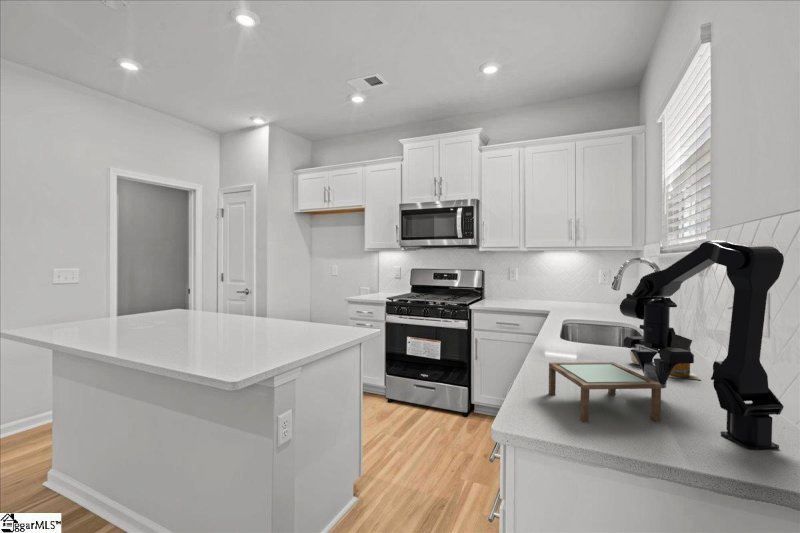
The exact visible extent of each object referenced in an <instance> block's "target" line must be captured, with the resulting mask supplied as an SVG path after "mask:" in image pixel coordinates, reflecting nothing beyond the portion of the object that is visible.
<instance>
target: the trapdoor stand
mask: <svg viewBox="0 0 800 533" xmlns="http://www.w3.org/2000/svg"><path fill="white" fill-rule="evenodd" d="M586 364H611V365H613V366H615V367H617V368H619V369H622V370H624V371H626V372H628V373H630V374H632V375H634V376H636V377H638V378H641V379H643V380H645V381H647V382H639V383H585V382H584V381H582V380H581V379H579V378H577V377H576V376H574V375H573V374H571V373H569V372H568V371H566V370H565V369H563V368H561V367H560V365H586ZM556 372H557V373H558V374H560V375H561V376H563V377H564V378H566V379H567V380H569V382H572V383H573V384H575V385H576V386H577V387H579V388H580V408H579V410H580V412H579V413H580V419H579V420H580V421H581V422H582V423H590V390H607V393H608V394H610V395H611V396H612V395H616V392H617V390H639V389H640V390H641V389H643V390H644V389H646V390H647V389H648V390H649V389H650V390H651V391H650V392H651V396H650V398H651V399H650V402H651V403H650V419H651V420H652V421H654V422H661V414H662V413H661V412H662V411H661V404H662V402H661V401H662V388H661V384H660V383H658V382H655V381H653V380H651V379H649V378H647V377H645V376H644V375H642V374H640V373H639V372H636V371H634V370H631V369H629V368H626V367H624V366H622V365H621V364H618V363H617V362H614V361H605V362H604V361H603V362H602V361H598V362H595V361H594V362H593V361H591V362H589V361H588V362H585V361H584V362H583V361H582V362H577V361H575V362H548V395H550V396H556V389H557V388H556V383H557V382H556V381H557V379H556V376H557V373H556Z"/></svg>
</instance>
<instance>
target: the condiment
mask: <svg viewBox="0 0 800 533" xmlns="http://www.w3.org/2000/svg"><path fill="white" fill-rule="evenodd" d="M691 349H692V348H691V347H690V348H689V351H691ZM691 352H692V351H691ZM668 378H675V379H676V378H677V379H689V380H700V381H702V379H701V378H700V377H699V376H697V374H696V373H692V372H691V363H678V364H677V365H675V366H674V367H673V369H672V371H671V373H670V375H669V377H668Z"/></svg>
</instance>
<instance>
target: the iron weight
mask: <svg viewBox="0 0 800 533" xmlns="http://www.w3.org/2000/svg"><path fill="white" fill-rule="evenodd" d="M643 376H645V377H647V378H649V379H651V380H653V381H655V382H658V383H660V382H659V379H658V375H657V371H656V367H655V363H654V361H653V362H645V363H644V373H643ZM667 382H668V380H667V381H666V383H665V385H661V389H667V387H668V386H667V385H668V383H667Z"/></svg>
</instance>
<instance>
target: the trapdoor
mask: <svg viewBox="0 0 800 533" xmlns="http://www.w3.org/2000/svg"><path fill="white" fill-rule="evenodd" d="M560 367H561V368H563V369H565V370H566V371H568V372H569V373H571V374H573V375H574V376H576V377H577V378H579V379H581V380H582V381H584V382H585V383H639V382H647V381H645V380H643V379H641V378H638V377H636V376H634V375H632V374H630V373H628V372H626V371H624V370H622V369H619V368H617V367H615V366H613V365H611V364H586V365H560Z"/></svg>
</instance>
